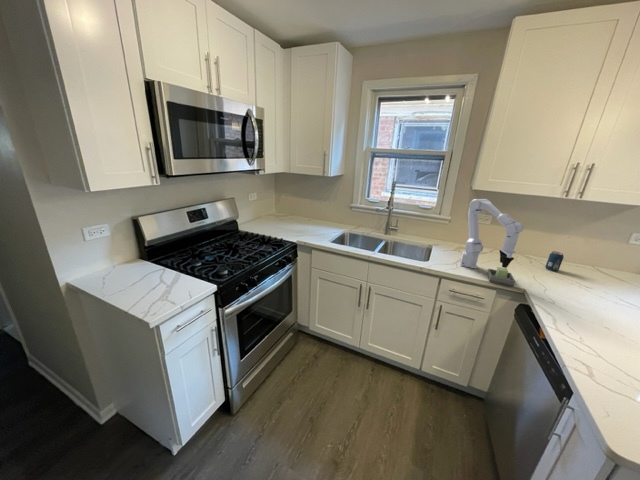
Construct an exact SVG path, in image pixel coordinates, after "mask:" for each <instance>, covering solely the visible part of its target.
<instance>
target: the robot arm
mask: <svg viewBox="0 0 640 480" xmlns="http://www.w3.org/2000/svg"><path fill="white" fill-rule="evenodd" d="M484 210H485V211H487V212H489V213H490V214H492V215H493V216H494V217H495V218H496V220H497V221H496V222H498V223H499V224H500V225H501V226H502V227H504V228H505V231H506V233H505V237H504V240H503V243H502V244H503V245H502V247H501V249H499V263H501V264H502V265H501V268H506V269H507V268H508V267H509V265H510V263H511V262H512V261H514V260H515V257H513V255H514V254H516V253H517V251H515V248H516V245H517V242H518V240H519V236H520V233H522V232H523V231H524V225H523V224H522V223H521V222H520V221H519V222H518V221H516V220H515V219H513V218H512V217H511V216H510V214H508V213H502V212H501V211H500V209H498V208H497V207H496V206H495V205H494V204H493V203H492V202H491V201H490V200H489V199H487V198H474V199H472V200H471V201H470V202H469V207H468V210H467V219H468V220H467V221H468V222H467V223H468V239H467V240H466V241H465V246H464V251H462V254H461V258H460V260H459V263H460V266H461V267H467V268H471V269H475V270H477V268H478V267H477V263H478V259H479V255H480V254H481V252H482V251H483V250H484V246H483V243H482V240H481V239H480V237H479V232H480V231H479V214H480V213H481V212H482V211H484Z"/></svg>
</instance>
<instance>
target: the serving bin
mask: <svg viewBox="0 0 640 480" xmlns="http://www.w3.org/2000/svg"><path fill="white" fill-rule="evenodd" d="M496 271H497V269H493V268H487V271H486V276H487V279H488V282H490V283H494V284H498V285H504V286H509V287H512V288H513V287H515V283H516V280H515V277H513V274H512V272H508V274H507V277H506V279H504V278H499V277H495V274H496Z"/></svg>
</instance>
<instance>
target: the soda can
mask: <svg viewBox="0 0 640 480" xmlns="http://www.w3.org/2000/svg"><path fill="white" fill-rule="evenodd" d="M563 260H564V253H562V252H559V251H551V252H550V253H549V255H548V259H547V261H546V263H545V265H544V266H545V269H546V270H547V271H549V270H550V272H555V273H556V272H558V271H560V268H561V265H562V263H563Z"/></svg>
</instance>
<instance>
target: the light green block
mask: <svg viewBox="0 0 640 480" xmlns="http://www.w3.org/2000/svg"><path fill="white" fill-rule="evenodd" d="M496 270H497V271H496V274H495V277H499V278H504V279H506V277H507V274H508V273H509V271H508V269H507V268H504V267H499V266H497V267H496Z"/></svg>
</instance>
